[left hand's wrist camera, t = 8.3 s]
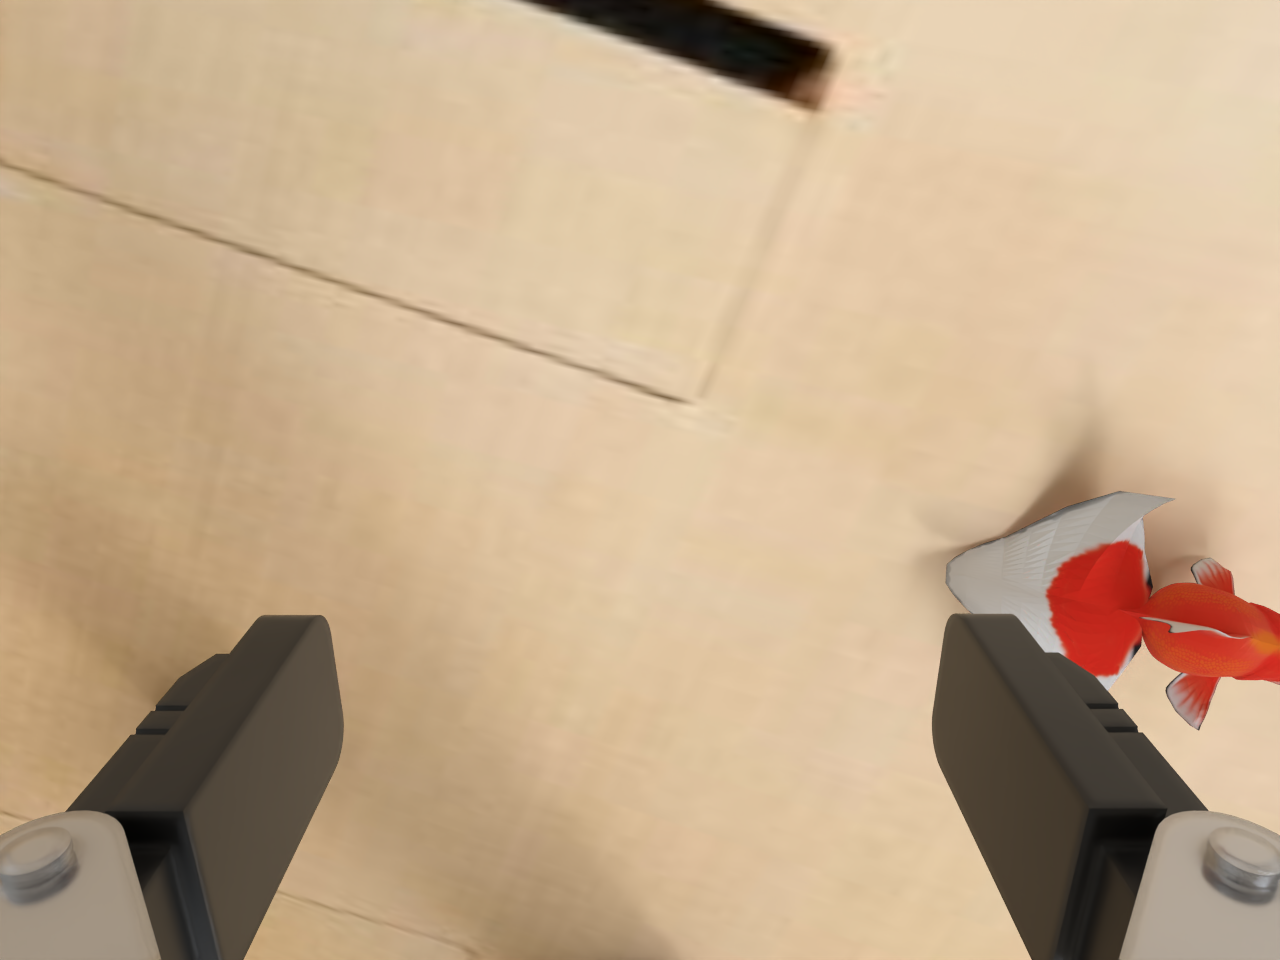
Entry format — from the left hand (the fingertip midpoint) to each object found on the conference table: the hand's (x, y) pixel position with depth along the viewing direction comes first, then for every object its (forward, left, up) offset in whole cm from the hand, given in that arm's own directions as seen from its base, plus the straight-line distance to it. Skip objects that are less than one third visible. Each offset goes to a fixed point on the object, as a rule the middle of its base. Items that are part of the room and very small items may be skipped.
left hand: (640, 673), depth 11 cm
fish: (-14, -22, -29) cm, 39 cm away
